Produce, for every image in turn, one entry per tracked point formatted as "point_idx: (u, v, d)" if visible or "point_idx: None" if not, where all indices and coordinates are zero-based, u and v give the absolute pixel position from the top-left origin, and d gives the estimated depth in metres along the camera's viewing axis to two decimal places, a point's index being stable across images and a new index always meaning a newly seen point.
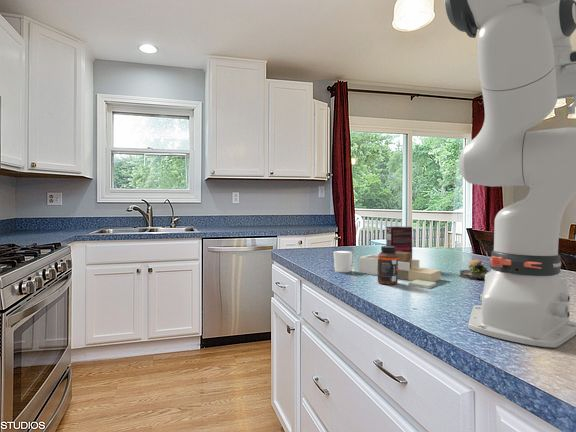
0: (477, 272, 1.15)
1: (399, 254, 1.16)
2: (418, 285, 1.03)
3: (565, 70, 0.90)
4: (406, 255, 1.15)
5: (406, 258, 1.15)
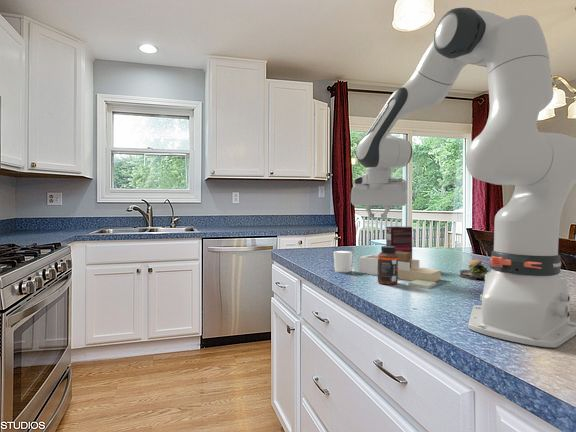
0: (477, 272, 1.15)
1: (399, 254, 1.16)
2: (418, 285, 1.03)
3: None
4: (406, 255, 1.15)
5: (406, 258, 1.15)
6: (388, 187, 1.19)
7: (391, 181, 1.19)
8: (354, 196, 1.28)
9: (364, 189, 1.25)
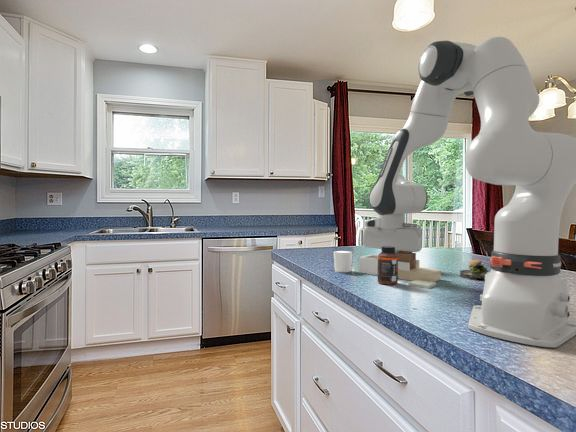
0: (477, 272, 1.15)
1: (403, 254, 1.15)
2: (418, 285, 1.03)
3: None
4: (410, 255, 1.14)
5: (410, 258, 1.14)
6: (402, 232, 1.15)
7: (405, 226, 1.16)
8: (366, 239, 1.24)
9: (377, 232, 1.21)
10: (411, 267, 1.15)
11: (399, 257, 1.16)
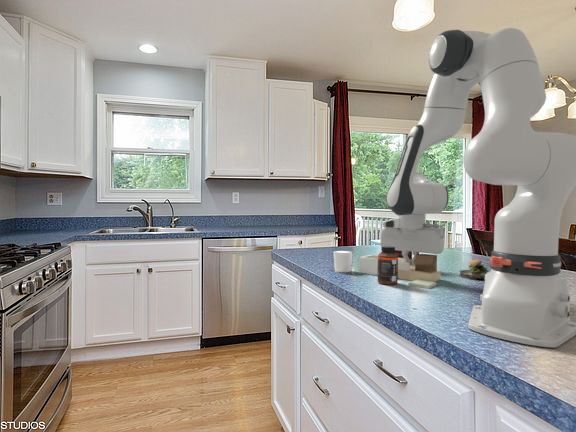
0: (477, 272, 1.15)
1: (424, 257, 1.10)
2: (418, 285, 1.03)
3: None
4: (432, 258, 1.09)
5: (432, 261, 1.10)
6: (423, 234, 1.11)
7: (426, 226, 1.11)
8: (384, 240, 1.20)
9: (395, 233, 1.17)
10: (432, 270, 1.10)
11: (420, 259, 1.11)
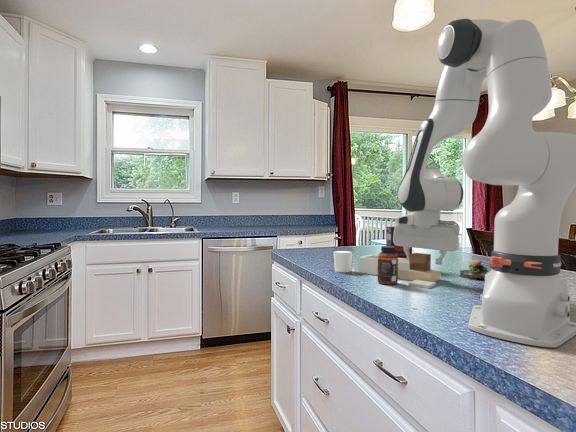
0: (477, 272, 1.15)
1: (418, 256, 1.12)
2: (418, 285, 1.03)
3: None
4: (425, 257, 1.11)
5: (425, 260, 1.12)
6: (438, 230, 1.08)
7: (441, 223, 1.08)
8: (396, 236, 1.17)
9: (409, 229, 1.14)
10: (426, 269, 1.12)
11: (413, 258, 1.13)
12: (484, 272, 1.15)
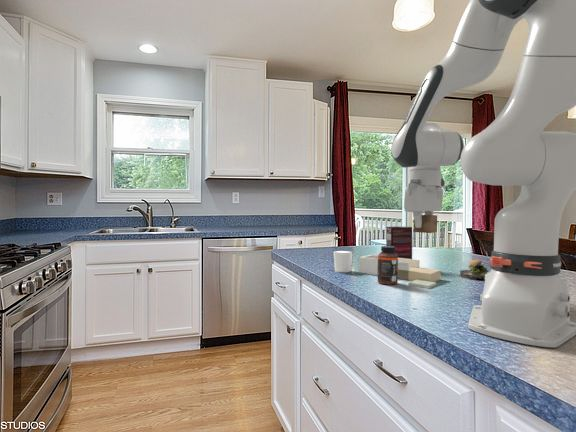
0: (477, 272, 1.15)
1: None
2: (418, 285, 1.03)
3: (436, 191, 1.05)
4: None
5: None
6: None
7: None
8: None
9: None
10: (419, 230, 1.03)
11: None
12: (484, 272, 1.15)
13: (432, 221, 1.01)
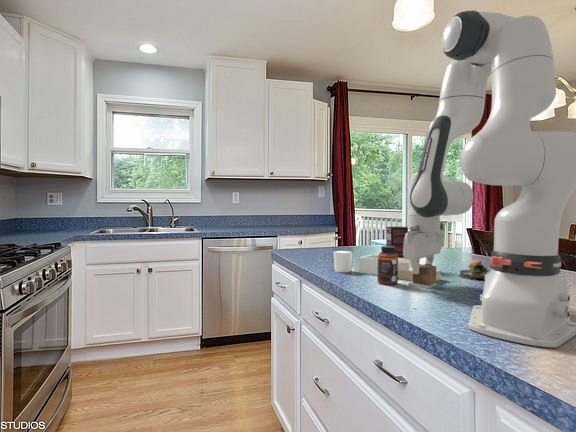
0: (477, 272, 1.15)
1: None
2: (418, 285, 1.03)
3: (435, 235, 1.05)
4: None
5: None
6: None
7: None
8: None
9: None
10: (418, 281, 1.03)
11: None
12: (484, 272, 1.15)
13: (431, 273, 1.02)
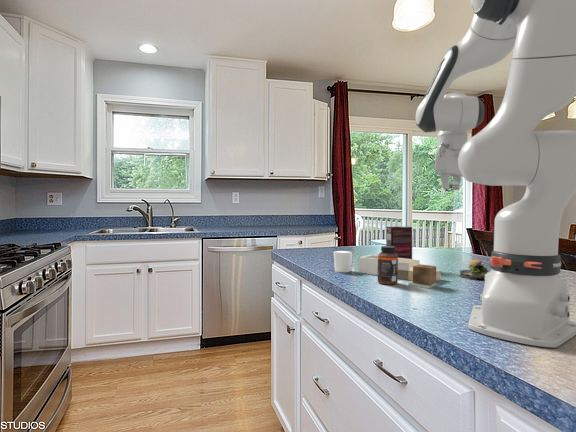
0: (477, 272, 1.15)
1: None
2: (418, 285, 1.03)
3: None
4: (416, 268, 1.03)
5: (416, 271, 1.03)
6: None
7: None
8: None
9: None
10: (418, 281, 1.03)
11: None
12: (484, 272, 1.15)
13: (431, 273, 1.02)
